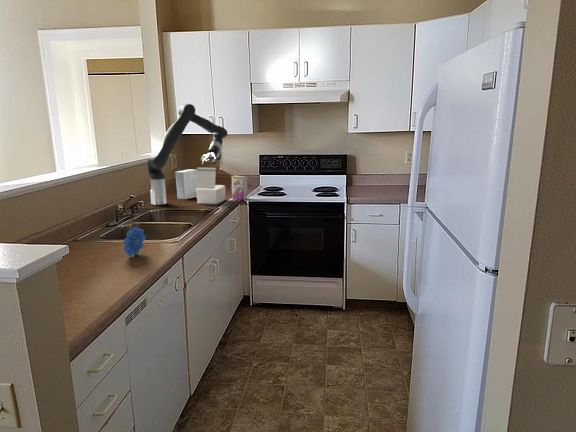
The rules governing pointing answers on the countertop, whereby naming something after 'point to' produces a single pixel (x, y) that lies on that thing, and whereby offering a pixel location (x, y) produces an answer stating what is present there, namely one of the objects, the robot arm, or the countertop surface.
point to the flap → (206, 178)
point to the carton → (210, 195)
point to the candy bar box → (239, 187)
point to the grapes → (134, 241)
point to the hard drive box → (186, 183)
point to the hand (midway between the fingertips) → (208, 164)
